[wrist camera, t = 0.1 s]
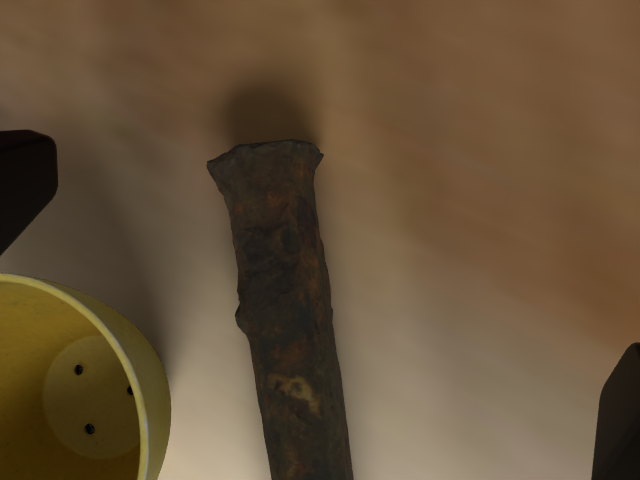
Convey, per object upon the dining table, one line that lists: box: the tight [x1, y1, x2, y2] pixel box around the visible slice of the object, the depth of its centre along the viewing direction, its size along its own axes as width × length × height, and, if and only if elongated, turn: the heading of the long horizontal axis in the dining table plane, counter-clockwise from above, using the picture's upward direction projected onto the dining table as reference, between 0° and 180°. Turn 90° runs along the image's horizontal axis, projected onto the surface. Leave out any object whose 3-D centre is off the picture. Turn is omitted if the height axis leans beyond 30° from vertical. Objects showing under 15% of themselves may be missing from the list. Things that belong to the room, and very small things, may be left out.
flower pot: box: [0, 273, 171, 480], centre depth 22 cm, size 10×10×7 cm
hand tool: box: [207, 139, 353, 480], centre depth 22 cm, size 19×4×5 cm, turn 7°
